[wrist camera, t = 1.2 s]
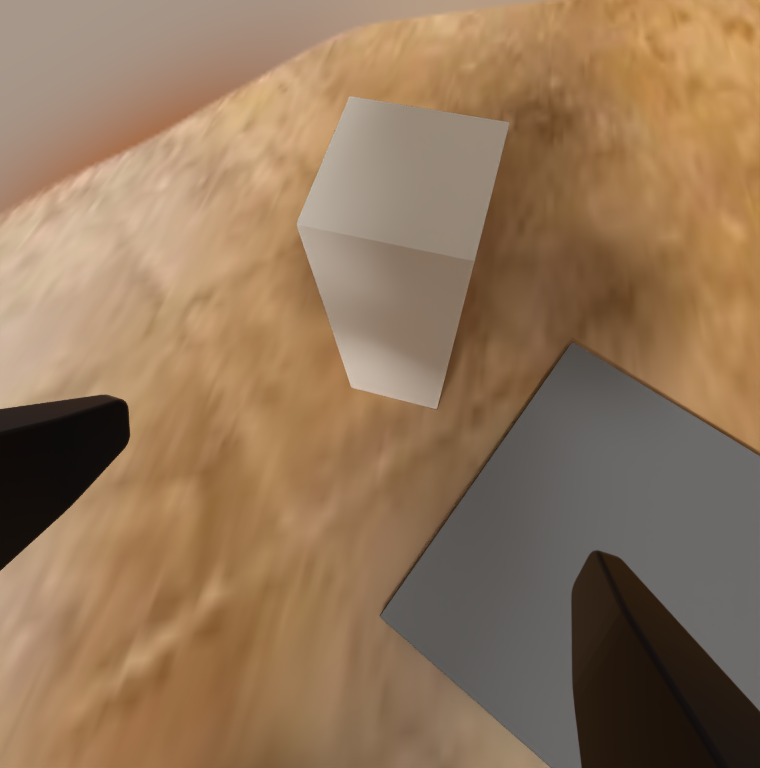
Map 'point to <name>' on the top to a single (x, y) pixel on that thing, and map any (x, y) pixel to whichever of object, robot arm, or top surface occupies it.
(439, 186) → the off-white post
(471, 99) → the top surface
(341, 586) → the top surface
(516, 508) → the charcoal rubber mat
